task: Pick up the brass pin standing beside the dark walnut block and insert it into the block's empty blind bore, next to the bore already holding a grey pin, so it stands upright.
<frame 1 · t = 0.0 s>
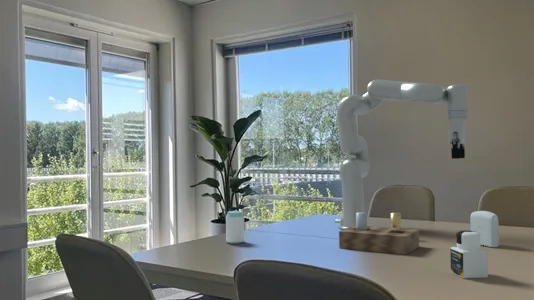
hand: (458, 158, 190), 31 cm above the table, tool pointing down, fingers open, 9 cm apart
can: (235, 242, 184), on the table
photo printer: (484, 245, 171), on the table
grey pin: (361, 240, 174), point 2 cm above the table, touching bore block
brass pin: (395, 238, 187), on the table
medicine bottle: (469, 275, 130), on the table
bore block: (379, 247, 170), on the table
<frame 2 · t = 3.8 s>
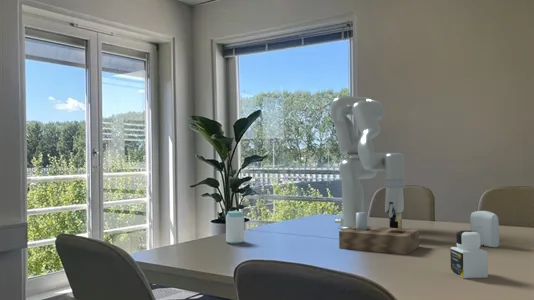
hand: (395, 230, 187), 3 cm above the table, tool pointing down, fingers closed on brass pin, 4 cm apart
brass pin: (395, 238, 187), on the table, touching gripper
everything else where it was.
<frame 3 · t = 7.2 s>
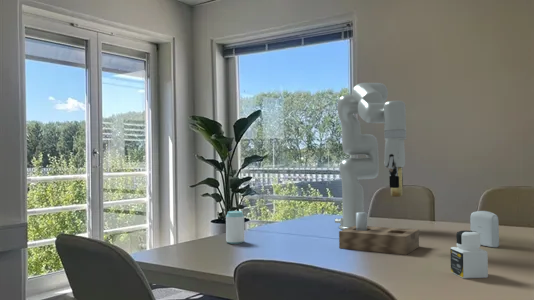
hand: (396, 186, 168), 22 cm above the table, tool pointing down, fingers closed on brass pin, 4 cm apart
brass pin: (396, 196, 168), point 18 cm above the table, touching gripper
everything else where it was.
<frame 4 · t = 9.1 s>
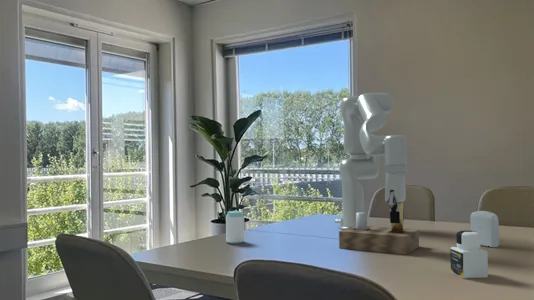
hand: (397, 221, 167), 10 cm above the table, tool pointing down, fingers closed on brass pin, 4 cm apart
brass pin: (397, 231, 167), point 6 cm above the table, touching gripper
everything else where it was.
when the fingers open (7 cm above the table, at t = 10.6 s): brass pin drops 2 cm, resting on bore block.
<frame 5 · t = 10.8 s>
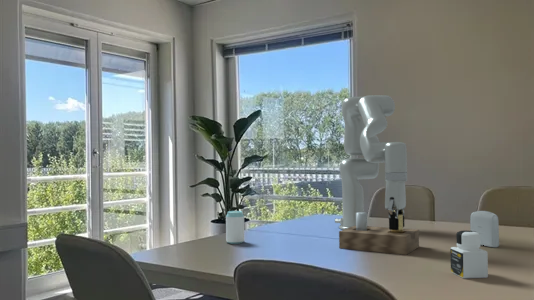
hand: (396, 227, 167), 7 cm above the table, tool pointing down, fingers open, 6 cm apart
brass pin: (397, 243, 167), point 2 cm above the table, touching bore block
everything else where it was.
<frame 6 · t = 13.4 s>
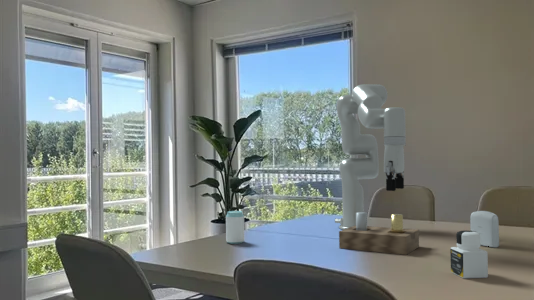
hand: (395, 189, 170), 21 cm above the table, tool pointing down, fingers open, 9 cm apart
nothing on the table moved.
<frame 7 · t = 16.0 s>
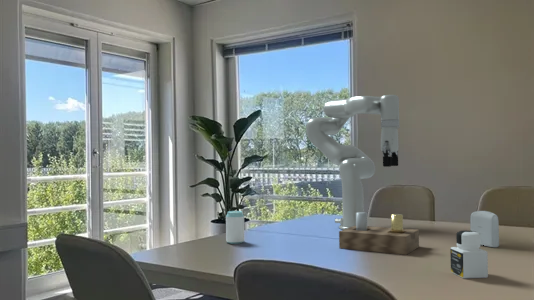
hand: (390, 166, 196), 28 cm above the table, tool pointing down, fingers open, 9 cm apart
nothing on the table moved.
at the end: brass pin 0.1 cm from the target spot on the bore block, point 2.0 cm above the bore block's base; brass pin tilted 0°; the gripper is holding nothing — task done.
